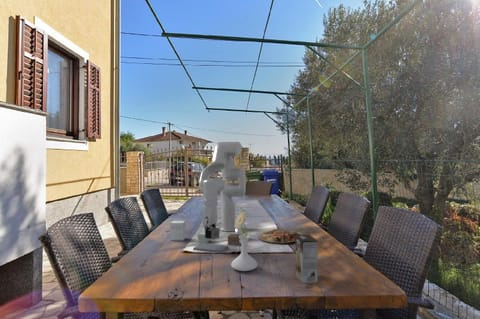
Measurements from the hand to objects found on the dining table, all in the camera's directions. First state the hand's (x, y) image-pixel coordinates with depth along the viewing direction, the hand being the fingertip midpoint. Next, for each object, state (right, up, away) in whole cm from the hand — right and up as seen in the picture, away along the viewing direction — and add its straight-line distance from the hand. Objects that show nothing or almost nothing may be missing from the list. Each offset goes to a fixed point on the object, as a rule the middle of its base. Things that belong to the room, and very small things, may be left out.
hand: (210, 236), depth 149 cm
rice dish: (+40, -7, +20) cm, 45 cm away
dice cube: (+1, -1, -1) cm, 2 cm away
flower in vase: (+17, -6, -29) cm, 34 cm away
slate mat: (0, -7, 0) cm, 7 cm away
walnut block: (+12, -7, +8) cm, 16 cm away
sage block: (-5, -7, +14) cm, 16 cm away
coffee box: (+42, -6, -38) cm, 57 cm away
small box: (-21, -7, +19) cm, 29 cm away
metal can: (+15, -7, +19) cm, 25 cm away
